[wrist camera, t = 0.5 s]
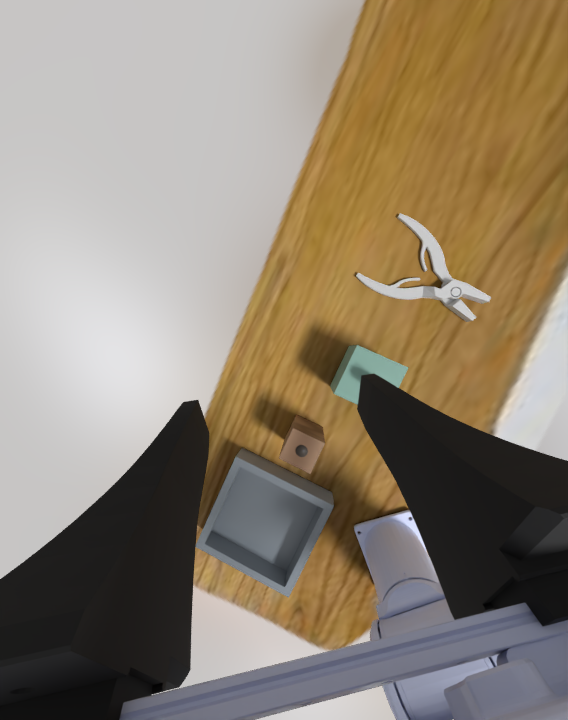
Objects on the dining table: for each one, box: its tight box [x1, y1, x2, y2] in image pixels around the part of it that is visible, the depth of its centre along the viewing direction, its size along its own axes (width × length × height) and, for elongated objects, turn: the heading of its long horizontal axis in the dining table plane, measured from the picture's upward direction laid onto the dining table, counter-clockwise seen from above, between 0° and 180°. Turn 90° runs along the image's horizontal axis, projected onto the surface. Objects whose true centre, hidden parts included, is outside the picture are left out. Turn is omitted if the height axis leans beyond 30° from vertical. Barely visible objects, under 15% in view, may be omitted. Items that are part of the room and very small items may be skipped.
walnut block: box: [279, 415, 325, 474], centre depth 32 cm, size 4×4×6 cm
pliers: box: [356, 213, 491, 322], centre depth 31 cm, size 10×2×15 cm
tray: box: [195, 448, 334, 597], centre depth 34 cm, size 14×14×3 cm
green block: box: [330, 345, 408, 405], centre depth 29 cm, size 6×6×8 cm
